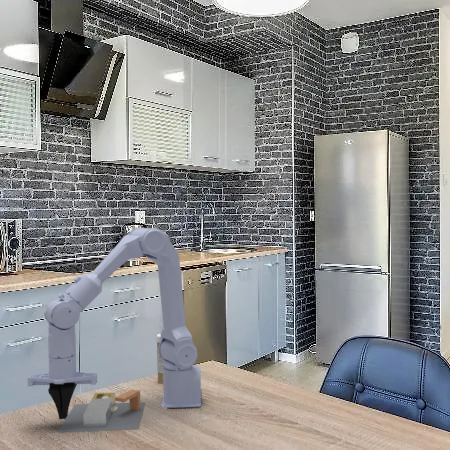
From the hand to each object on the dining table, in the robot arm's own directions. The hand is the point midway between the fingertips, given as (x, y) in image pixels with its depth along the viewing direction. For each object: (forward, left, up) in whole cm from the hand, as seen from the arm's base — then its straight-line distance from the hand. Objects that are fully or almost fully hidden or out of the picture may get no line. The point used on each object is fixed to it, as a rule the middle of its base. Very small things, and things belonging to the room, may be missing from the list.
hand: (63, 417), depth 121 cm
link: (-7, -5, -2) cm, 9 cm away
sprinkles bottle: (-21, -30, -2) cm, 36 cm away
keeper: (-13, -6, -2) cm, 15 cm away
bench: (-8, -5, -2) cm, 10 cm away
